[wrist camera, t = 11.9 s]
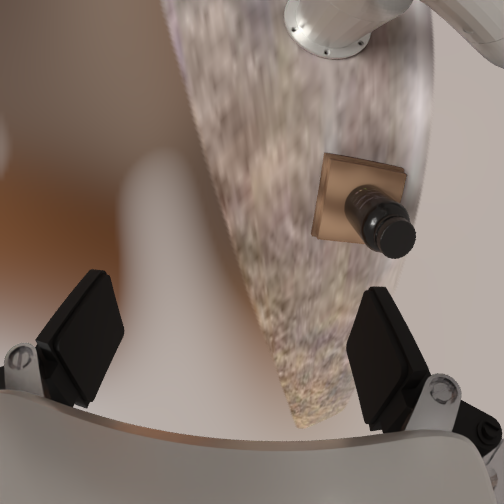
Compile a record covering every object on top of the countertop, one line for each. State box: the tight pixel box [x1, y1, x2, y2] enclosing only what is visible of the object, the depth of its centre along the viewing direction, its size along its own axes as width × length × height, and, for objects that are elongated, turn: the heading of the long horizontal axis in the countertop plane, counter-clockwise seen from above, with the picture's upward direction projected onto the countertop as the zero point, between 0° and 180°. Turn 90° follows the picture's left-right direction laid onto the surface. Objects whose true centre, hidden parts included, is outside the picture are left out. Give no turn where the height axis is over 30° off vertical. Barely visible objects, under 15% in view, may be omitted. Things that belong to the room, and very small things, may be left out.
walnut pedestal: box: [311, 153, 406, 244], centre depth 41 cm, size 13×13×3 cm
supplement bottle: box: [344, 185, 416, 259], centre depth 34 cm, size 7×7×12 cm
